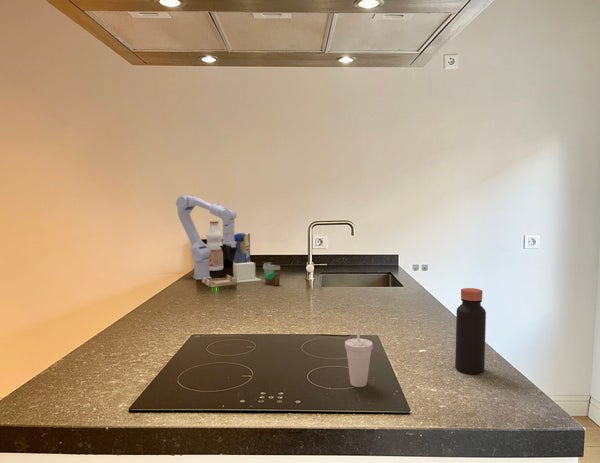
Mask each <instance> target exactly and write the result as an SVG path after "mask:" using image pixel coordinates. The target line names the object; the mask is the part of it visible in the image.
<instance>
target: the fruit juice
mask: <svg viewBox="0 0 600 463" xmlns="http://www.w3.org/2000/svg"><path fill="white" fill-rule="evenodd" d="M209 225H210V227H209V229H208V232H207V233H206V245H207V247H208V248H209V249H210V250H211V252H212V255H211V257H210V258H209V271H210V272H211V271H212V272H213V271H214V272H215V271H216V272H217V271H222V270H223V269H224V256H223V252H222V249H221V247H220V246H223V244H222V241H223V233H222V232H221V231H220V228H219V221H218V220H211V221H209Z"/></svg>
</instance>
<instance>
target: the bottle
mask: <svg viewBox="0 0 600 463" xmlns="http://www.w3.org/2000/svg"><path fill="white" fill-rule="evenodd" d="M460 300H461V304H460V305H459V306H458V307H456V318H455V319H456V321H455V325H456V326H455V359H454V361H455V364H454V365H455V366H454V367H455V369H456V370H457V371H459V372H460V373H463V374H467V375H480V374H483V373H484V372H485V361H486V360H485V358H486V357H485V356H486V331H487V330H486V327H487V320H486V319H487V312H486V309H485V308H484V307H483V306H482V304H481V303H482V302H483V290H482V289H480V288H473V287H465V288H464V287H463V288H461V289H460Z"/></svg>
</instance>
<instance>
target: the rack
mask: <svg viewBox="0 0 600 463" xmlns="http://www.w3.org/2000/svg"><path fill="white" fill-rule="evenodd" d="M227 280H229V281H231V282H230V283H220V284H213V282H218V281H227ZM201 283H203V284H204V285H206V286H208V287H209V288H214V287H215V288H216V287H223V286H225V287H226V286H234V285H237V284H238V283H237V279H236V278H234V276H231V275H229V274H226V276H225V277H219V278H208V279H206V278H204V277H202V279H201Z"/></svg>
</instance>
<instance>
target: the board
mask: <svg viewBox="0 0 600 463" xmlns="http://www.w3.org/2000/svg"><path fill="white" fill-rule="evenodd" d="M256 281H261V282H263V279H261V278H258V277H257V276H255V279H248V280H238V281H237V284H238V283H247V282H248V283H249V282H256Z"/></svg>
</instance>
